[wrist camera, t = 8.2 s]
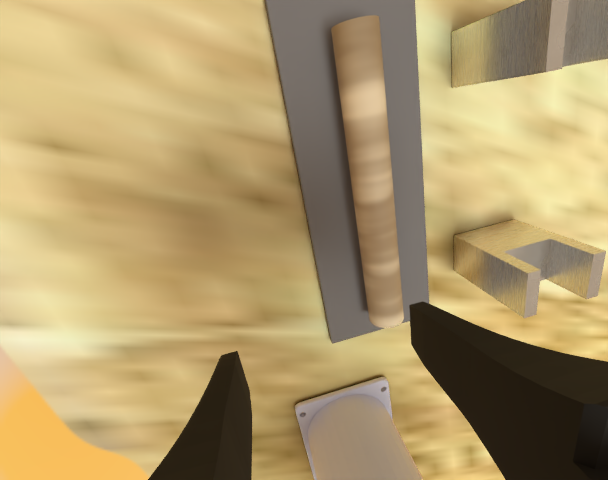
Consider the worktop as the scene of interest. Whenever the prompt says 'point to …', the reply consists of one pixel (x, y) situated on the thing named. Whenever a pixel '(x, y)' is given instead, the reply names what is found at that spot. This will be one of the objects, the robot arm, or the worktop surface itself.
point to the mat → (333, 151)
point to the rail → (370, 163)
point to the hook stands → (514, 63)
